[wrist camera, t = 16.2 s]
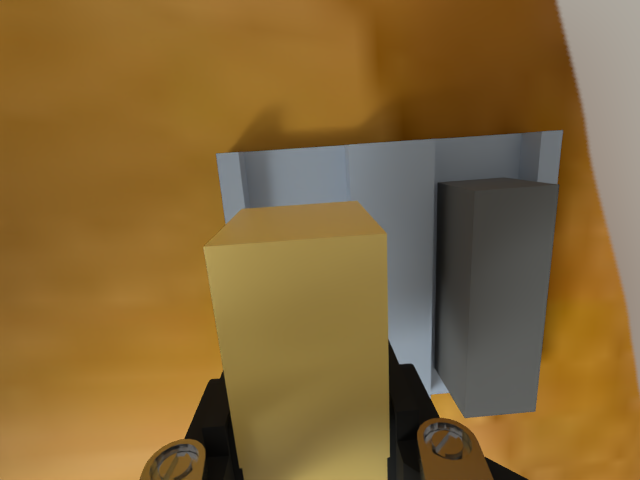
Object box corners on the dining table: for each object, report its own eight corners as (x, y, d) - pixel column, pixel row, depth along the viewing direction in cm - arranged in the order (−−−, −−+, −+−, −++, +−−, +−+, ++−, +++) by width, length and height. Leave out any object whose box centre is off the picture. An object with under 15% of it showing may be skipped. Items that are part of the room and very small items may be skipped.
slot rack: (259, 398, 22) (253, 429, 19) (227, 153, 18) (215, 153, 16) (508, 376, 22) (533, 404, 20) (528, 132, 18) (563, 130, 16)
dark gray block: (437, 182, 18) (474, 191, 14) (503, 177, 18) (559, 184, 14) (434, 367, 21) (464, 418, 17) (491, 362, 21) (535, 411, 17)
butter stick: (241, 208, 10) (203, 246, 7) (357, 200, 10) (386, 233, 7) (277, 489, 13) (265, 629, 9) (367, 481, 13) (391, 617, 10)
